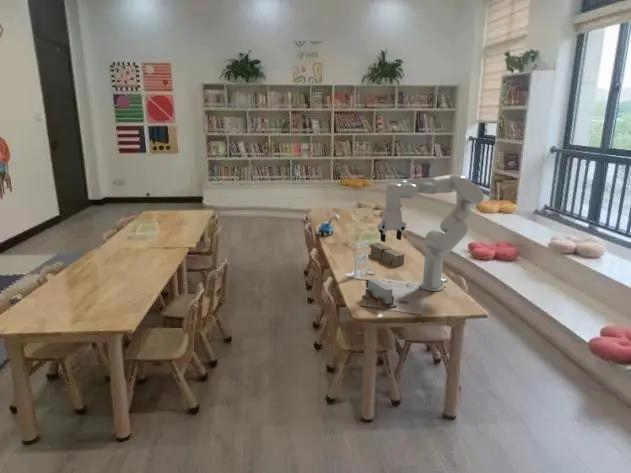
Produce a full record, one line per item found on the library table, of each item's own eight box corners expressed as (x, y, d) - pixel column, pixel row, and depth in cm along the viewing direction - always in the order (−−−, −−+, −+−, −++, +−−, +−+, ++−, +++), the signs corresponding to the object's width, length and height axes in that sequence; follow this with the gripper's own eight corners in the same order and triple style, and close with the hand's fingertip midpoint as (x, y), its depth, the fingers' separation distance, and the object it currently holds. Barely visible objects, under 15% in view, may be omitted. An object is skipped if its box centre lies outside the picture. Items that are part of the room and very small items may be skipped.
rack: (376, 294, 240) (376, 285, 239) (396, 307, 225) (397, 297, 223) (362, 297, 237) (362, 287, 235) (381, 310, 221) (382, 300, 220)
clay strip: (373, 291, 238) (374, 278, 236) (391, 302, 224) (392, 289, 222) (367, 292, 236) (368, 279, 234) (385, 303, 222) (386, 290, 221)
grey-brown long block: (405, 267, 289) (378, 253, 314) (406, 254, 286) (379, 241, 311) (394, 268, 285) (369, 254, 310) (395, 255, 283) (369, 242, 308)
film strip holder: (355, 269, 279) (356, 237, 274) (375, 274, 272) (377, 241, 266) (342, 275, 268) (344, 242, 263) (363, 281, 260) (365, 246, 255)
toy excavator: (334, 238, 349) (335, 216, 345) (316, 235, 358) (316, 213, 353) (340, 236, 356) (341, 214, 352) (322, 233, 365) (322, 211, 360)
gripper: (402, 205, 240) (400, 237, 244) (374, 207, 232) (372, 240, 237) (411, 207, 233) (408, 240, 238) (382, 210, 226) (380, 243, 230)
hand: (390, 240), depth 237 cm, fingers open, 9 cm apart
